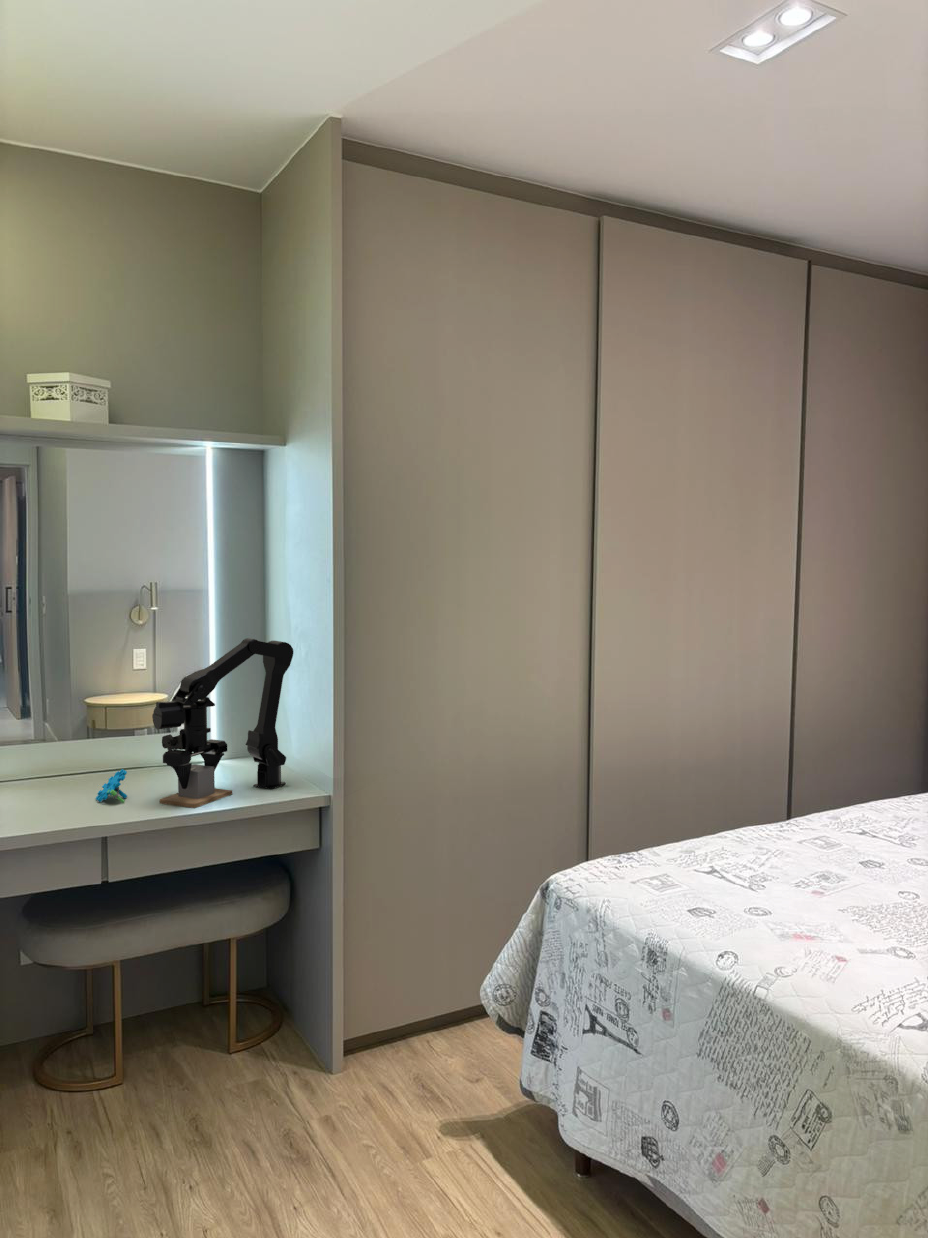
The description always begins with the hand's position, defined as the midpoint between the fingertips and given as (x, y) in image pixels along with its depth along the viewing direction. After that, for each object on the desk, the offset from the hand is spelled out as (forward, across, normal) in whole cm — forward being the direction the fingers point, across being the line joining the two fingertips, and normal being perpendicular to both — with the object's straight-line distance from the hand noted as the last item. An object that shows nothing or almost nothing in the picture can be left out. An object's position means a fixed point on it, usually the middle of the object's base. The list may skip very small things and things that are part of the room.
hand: (196, 784), depth 247 cm
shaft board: (+4, 0, 0) cm, 4 cm away
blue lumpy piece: (+4, +10, -18) cm, 22 cm away
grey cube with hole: (+3, 0, 0) cm, 3 cm away
